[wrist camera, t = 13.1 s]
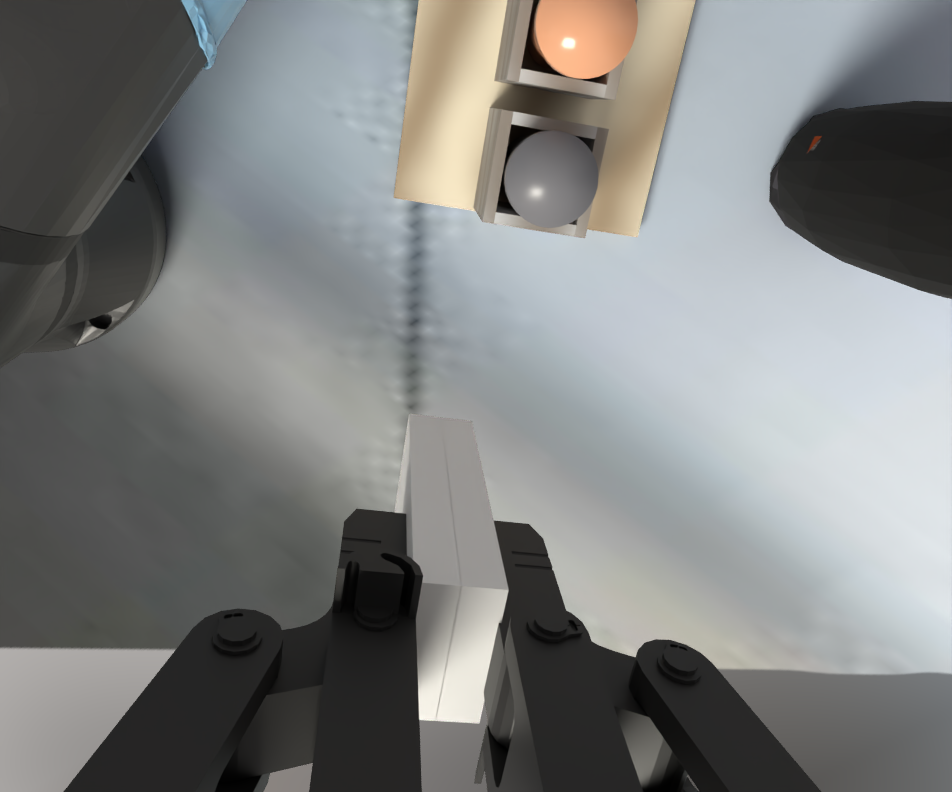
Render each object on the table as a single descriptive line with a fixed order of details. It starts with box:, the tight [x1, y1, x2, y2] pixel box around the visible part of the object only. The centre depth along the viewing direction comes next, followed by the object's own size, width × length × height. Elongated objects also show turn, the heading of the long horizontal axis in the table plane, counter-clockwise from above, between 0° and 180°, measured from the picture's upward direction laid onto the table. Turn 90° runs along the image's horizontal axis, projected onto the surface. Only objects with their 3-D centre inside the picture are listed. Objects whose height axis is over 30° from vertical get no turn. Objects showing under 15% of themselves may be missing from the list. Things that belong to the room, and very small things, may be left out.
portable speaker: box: [770, 101, 952, 299], centre depth 38 cm, size 9×9×20 cm
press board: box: [394, 0, 696, 238], centre depth 39 cm, size 15×20×7 cm
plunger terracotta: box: [526, 0, 638, 79], centre depth 37 cm, size 5×5×7 cm
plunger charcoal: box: [502, 130, 599, 228], centre depth 40 cm, size 5×5×7 cm
